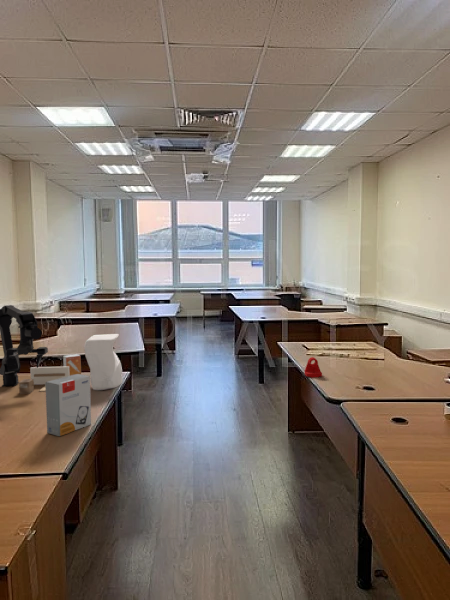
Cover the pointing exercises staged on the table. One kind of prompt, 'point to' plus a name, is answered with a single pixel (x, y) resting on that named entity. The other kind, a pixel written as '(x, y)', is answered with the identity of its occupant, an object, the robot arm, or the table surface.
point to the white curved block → (103, 362)
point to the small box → (73, 363)
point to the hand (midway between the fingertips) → (28, 368)
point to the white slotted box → (48, 374)
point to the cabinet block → (26, 386)
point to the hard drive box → (68, 404)
